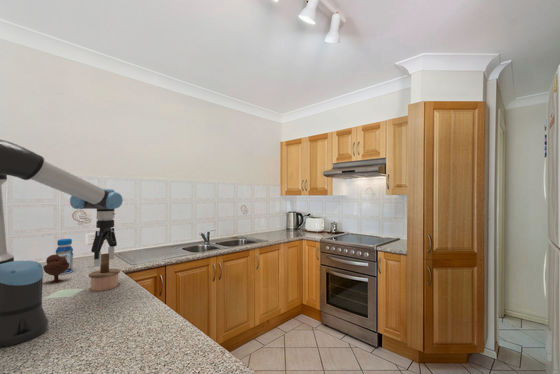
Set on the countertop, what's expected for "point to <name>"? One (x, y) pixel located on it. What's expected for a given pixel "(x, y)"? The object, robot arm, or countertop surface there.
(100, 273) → the lid
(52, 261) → the brown tree figurine
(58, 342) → the countertop surface
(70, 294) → the trivet
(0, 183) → the robot arm
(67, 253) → the beverage bottle
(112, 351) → the countertop surface
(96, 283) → the bowl
